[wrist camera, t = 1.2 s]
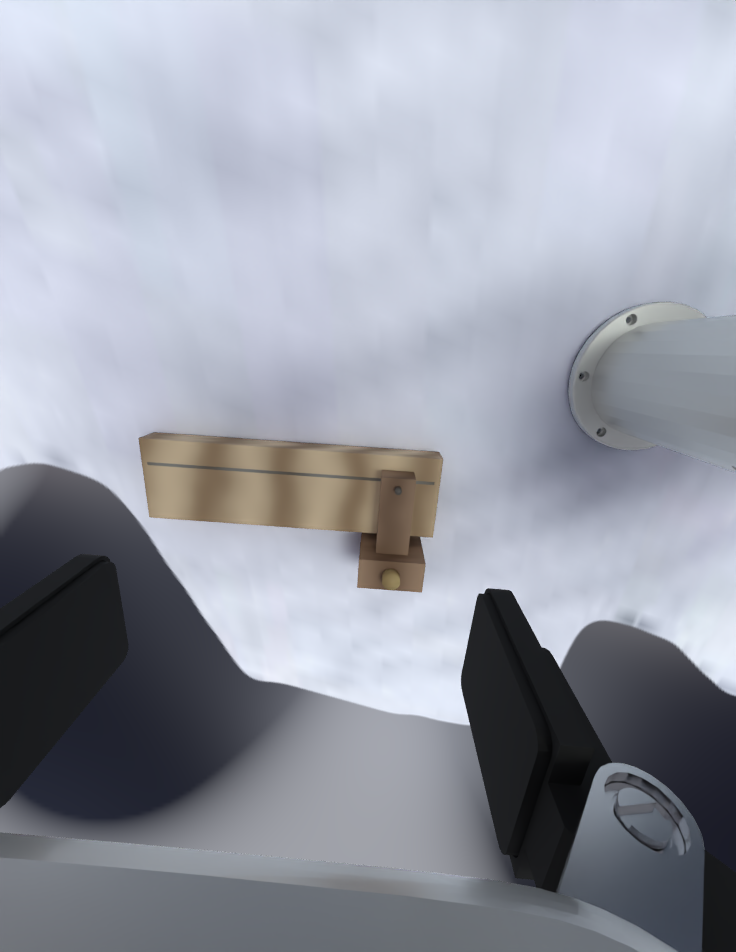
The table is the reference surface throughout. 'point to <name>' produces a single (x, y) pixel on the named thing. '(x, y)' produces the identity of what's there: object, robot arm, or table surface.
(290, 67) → the table surface
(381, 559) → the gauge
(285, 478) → the board
